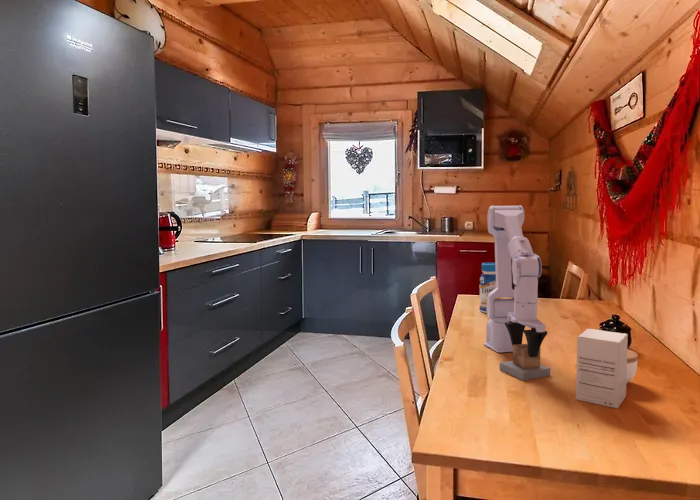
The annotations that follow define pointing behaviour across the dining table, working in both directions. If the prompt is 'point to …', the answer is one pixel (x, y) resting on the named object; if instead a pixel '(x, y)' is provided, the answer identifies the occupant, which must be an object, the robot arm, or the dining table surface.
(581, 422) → the dining table surface
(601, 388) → the supplement box
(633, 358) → the lidded jar
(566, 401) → the dining table surface
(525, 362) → the walnut block
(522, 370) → the plate
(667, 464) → the dining table surface
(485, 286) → the beverage bottle
